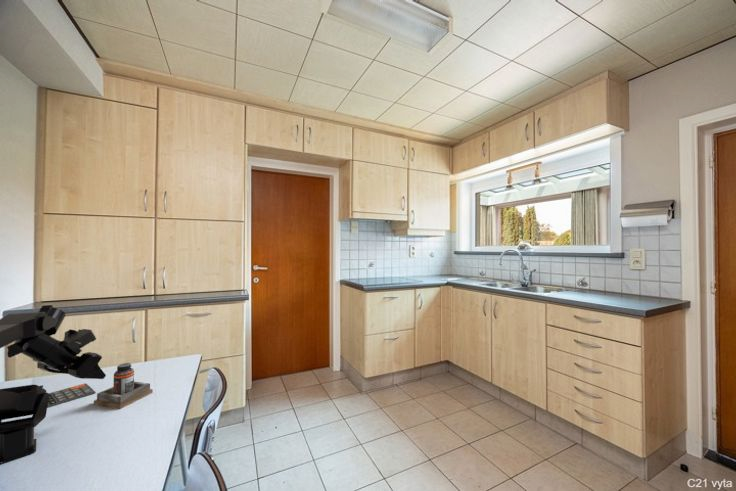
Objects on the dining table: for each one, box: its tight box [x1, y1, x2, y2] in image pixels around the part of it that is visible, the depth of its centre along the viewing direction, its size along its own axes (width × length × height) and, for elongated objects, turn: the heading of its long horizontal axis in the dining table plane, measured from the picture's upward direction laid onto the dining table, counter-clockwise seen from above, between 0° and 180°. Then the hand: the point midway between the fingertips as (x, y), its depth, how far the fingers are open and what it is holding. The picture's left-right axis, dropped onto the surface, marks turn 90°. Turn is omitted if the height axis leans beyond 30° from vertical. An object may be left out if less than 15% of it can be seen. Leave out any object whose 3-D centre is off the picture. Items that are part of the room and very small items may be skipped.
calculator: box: [47, 382, 96, 409], centre depth 96 cm, size 12×1×15 cm
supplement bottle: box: [112, 362, 135, 395], centre depth 95 cm, size 5×5×10 cm
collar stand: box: [93, 381, 154, 410], centre depth 95 cm, size 10×10×3 cm
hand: (94, 375), depth 88 cm, fingers open, 9 cm apart
